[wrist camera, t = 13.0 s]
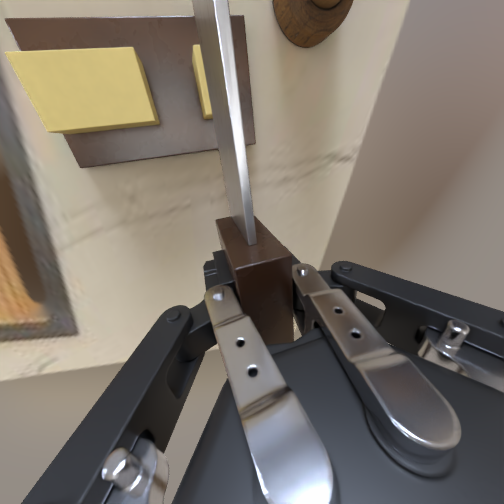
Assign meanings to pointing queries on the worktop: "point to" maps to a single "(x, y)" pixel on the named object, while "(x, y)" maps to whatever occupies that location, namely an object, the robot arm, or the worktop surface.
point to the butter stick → (86, 88)
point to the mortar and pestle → (310, 19)
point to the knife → (242, 189)
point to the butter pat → (201, 82)
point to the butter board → (158, 76)
